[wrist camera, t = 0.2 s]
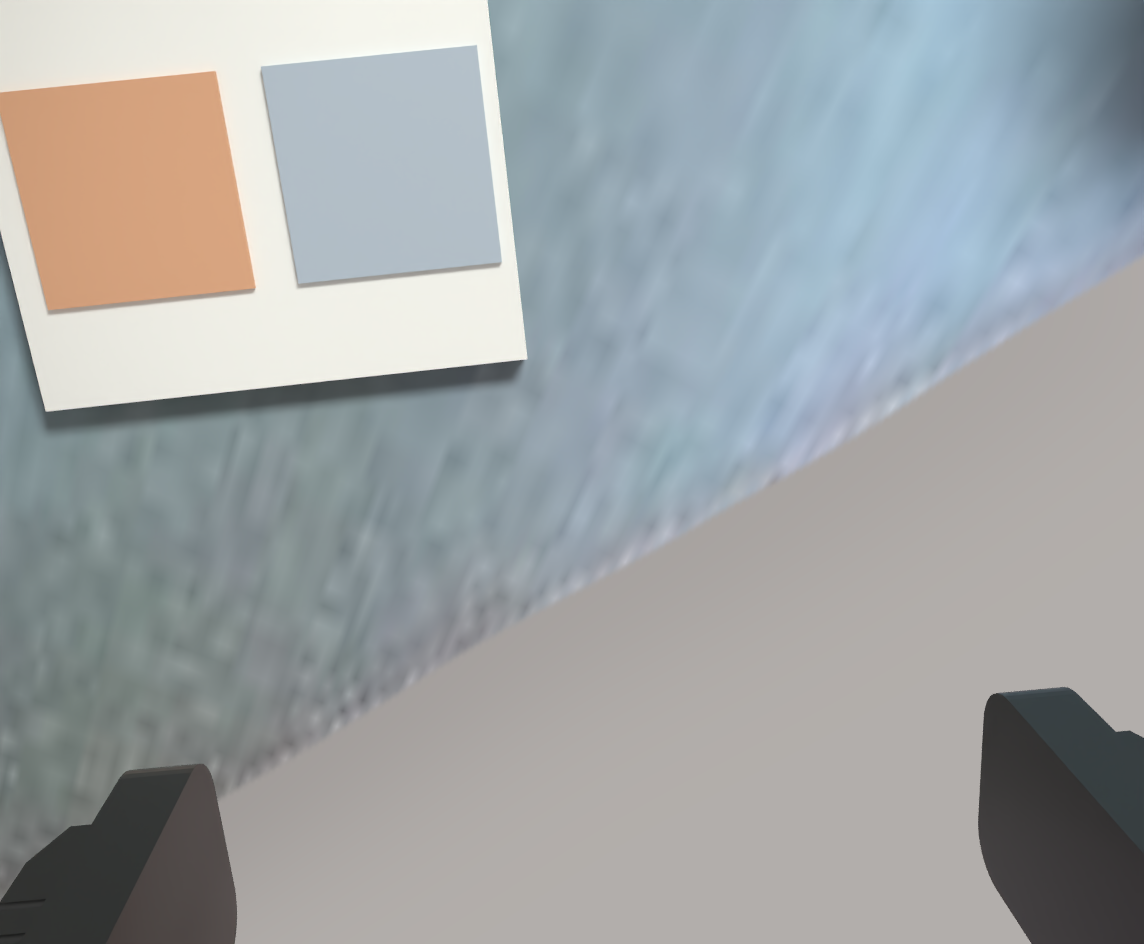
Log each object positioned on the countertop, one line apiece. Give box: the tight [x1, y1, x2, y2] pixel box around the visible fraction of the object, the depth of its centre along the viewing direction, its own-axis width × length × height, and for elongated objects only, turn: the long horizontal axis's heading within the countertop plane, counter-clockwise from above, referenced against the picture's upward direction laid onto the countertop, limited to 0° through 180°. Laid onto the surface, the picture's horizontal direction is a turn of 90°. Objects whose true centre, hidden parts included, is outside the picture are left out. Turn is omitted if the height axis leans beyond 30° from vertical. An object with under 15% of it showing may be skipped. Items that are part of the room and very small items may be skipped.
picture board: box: [0, 0, 527, 412], centre depth 36 cm, size 14×17×1 cm
